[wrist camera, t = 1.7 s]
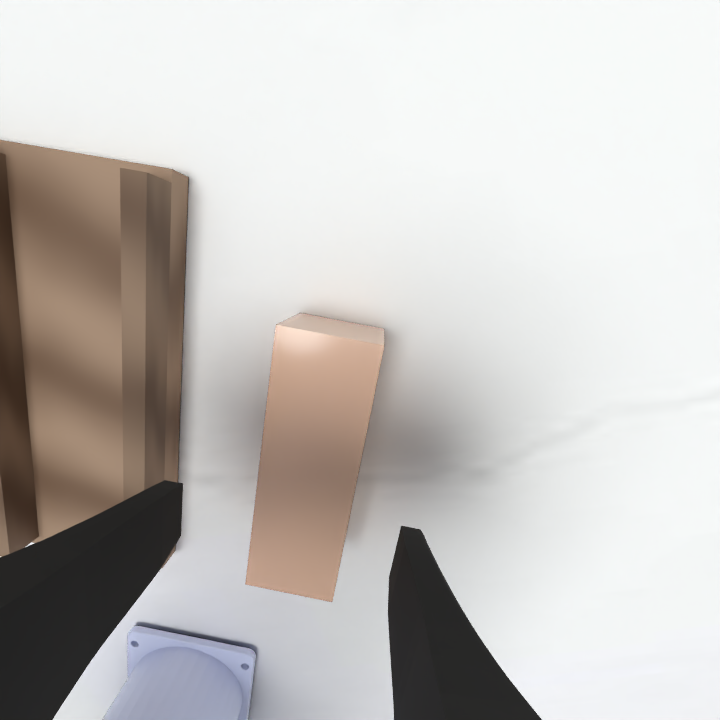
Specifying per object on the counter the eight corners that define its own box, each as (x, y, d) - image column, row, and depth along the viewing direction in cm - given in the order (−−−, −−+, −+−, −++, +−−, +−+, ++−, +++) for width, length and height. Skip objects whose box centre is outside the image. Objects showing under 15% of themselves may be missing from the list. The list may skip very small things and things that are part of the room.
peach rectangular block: (342, 535, 19) (332, 602, 15) (273, 521, 19) (245, 584, 15) (384, 328, 16) (384, 345, 12) (301, 312, 16) (276, 324, 12)
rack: (175, 550, 20) (143, 592, 17) (-71, 502, 20) (-138, 536, 18) (188, 177, 15) (146, 156, 12) (-140, 121, 15) (-249, 89, 13)
